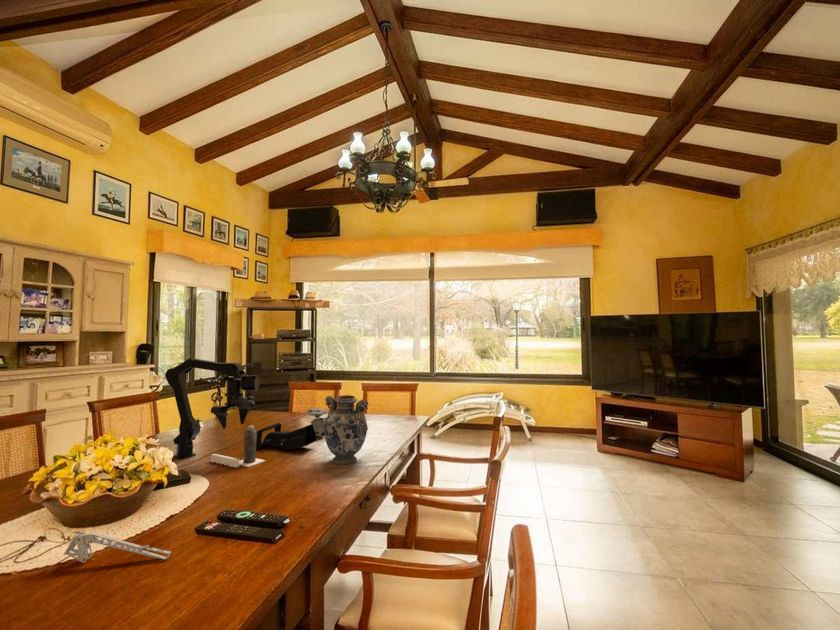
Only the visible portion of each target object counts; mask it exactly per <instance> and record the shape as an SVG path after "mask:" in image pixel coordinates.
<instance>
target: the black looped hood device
mask: <svg viewBox="0 0 840 630" xmlns="http://www.w3.org/2000/svg"><path fill="white" fill-rule="evenodd" d="M307 425H308V426H307ZM307 425H306V426H302V427H301V428H298V429H294V430H292V431H290V430H289V431H282V423H280V422H277V423H274V424H271V425H268V426H266V427H262V428H260V429H257V436H256V450H258V449H261V448H264V447H266V446H268V445H271V446H274V447H277V448H279V449H282V450H284V451H285V450H286V451H290V450H294V449H298V448H302V447H308V446H309V445H312V444H313V443H316V442H317V439H316V432H315V431H314V428H313V424H311V423H310V424H307ZM272 429H274V430H273V431H270V430H272ZM266 431H270V432H269V433H268V434H266V435H265V436H264V439H263V433H264V432H266ZM262 439H263V440H262Z"/></svg>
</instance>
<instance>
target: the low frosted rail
mask: <svg viewBox="0 0 840 630" xmlns="http://www.w3.org/2000/svg"><path fill="white" fill-rule="evenodd" d="M211 461H212V462H211ZM239 461H240V458H236V457H232V456H227V455H222V454H218V453H211V458H210V462H211V463H215V462H216V463H215V464H219V463H220V464H219V465H223V464H224V465H223V466H227V465H228V466H227V467H231V468H239V467H240V465H239Z"/></svg>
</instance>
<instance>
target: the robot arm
mask: <svg viewBox="0 0 840 630" xmlns="http://www.w3.org/2000/svg"><path fill="white" fill-rule="evenodd" d="M193 369H200V370H205V371H211V372H212V371H213V372H219V373H220V374H222V375H225V376H224V377H223V378H222V379H221V382H226V393H224V397H226V402H224V405H223V404H222V405H220V404H218V405H214V406H212V407H211V408H210V414H213V415H214V416H216V418H217V420H218V421H219V423H220V425H221V428H222V429H223V430H225V429H227V428H226V427H227V417H228V415H229V413H228V411H229V410H235V409H238V415H239V421H240V425H244V423H245V420H246V418H247V415H248V413H249V412H250V410H253V408H255V405H256V404H255V402H254V397H253V396H251V395H248V396H247V397H245V396H244V393H243V392H242V391H244V392H247V391H248V392H249V391H255V392H257V391H258V390H259V386H260V381H259V378H258V375H257V374H253V375H248V374H247V373H246V371H244V368H243V365H242V364H241V363H240V362H238V361H237V362H233V361H232V362H218V361H213V360H212V361H211V360H208V359H207V360H206V359H200V358H196V357H192V358H187V359H186V360H184V361H183V362H181V363H180V364H178V365H176V366H174V367H171V368H168V369H167V370H166V372H165V374H164V377H165V380H166V382H167V384H168V385H169V386H170V388H172V391H173V394H174V399H175V401H176V402H175V403H176V406H177V412H178V414H179V419H180V421H179V422H180V423H179V427H178V433H179V434H178V435H177V436H176V437H174V438H173V439H172V441H173V443H174V445H176V451H175V452H176V453H175V454H173V455H174V457H173V458H177V459H182V460H183V459H187V458H190V457H193V456H196V455H197V454H196V453H194V450H193V449H194V440H196V438H197V437H198V436H199V434H200V433H201V428H202V426H201V424H200V423H201V422H200V419H199V418H198V419H196V418H194V415H193V412H192V409H191V408H192V407H191V404H190V401H189V396H188V392H187V388H186V384H187V374H189V373H190V372H191V371H192V370H193ZM241 390H242V391H241Z"/></svg>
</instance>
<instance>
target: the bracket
mask: <svg viewBox="0 0 840 630" xmlns="http://www.w3.org/2000/svg"><path fill="white" fill-rule="evenodd" d="M100 538H101V539H100ZM105 540H106V541H105ZM114 542H115V543H114ZM91 544H98V545H101V546H102V545H103V546H106V547H111V548H115V549H118V550H122V551H127V552H131V553H134V554H138V555H142V556H147V557H151V558H155V559H159V560H168V559H169V557H170V555H171V554H172V551H171V550H169V551H168V550H165V549H160V548H156V547H151V546H149V545H150V544H146V545H140V544H136V543H133V542H128V541H126V540H122V539H119V538H115V537H111V536H107V535H104V534H101V533H98V532H90V533H89V532H84V531H81V532H79V533H78V534H76V535H75V536H73V538H72V539H71V541H70V543H69V545H68V546H67V548H66V549H65V552H64V553H63V556H66V555H67V556H69V557H72V558H73V559H75V560H76V561H78V562H80V563H86V562H87V560H90V559H91V558H92V556H93V551H92V547H91ZM76 545H77V549H76V548H75V547H76ZM144 549H145V550H144ZM151 551H152V552H151ZM154 552H155V553H154ZM156 552H158V553H160V554H157V553H156ZM161 554H165V555H167V556H164V555H161ZM88 555H89V556H88Z"/></svg>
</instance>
